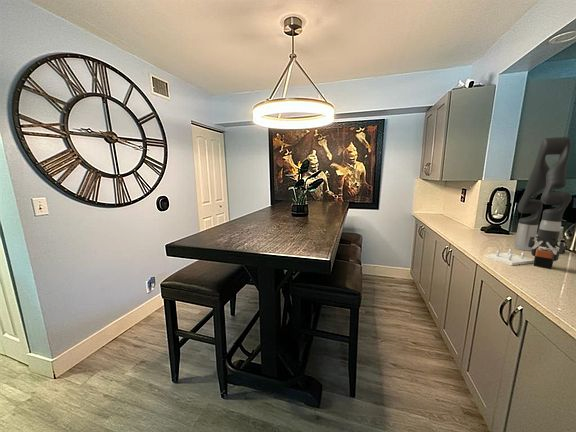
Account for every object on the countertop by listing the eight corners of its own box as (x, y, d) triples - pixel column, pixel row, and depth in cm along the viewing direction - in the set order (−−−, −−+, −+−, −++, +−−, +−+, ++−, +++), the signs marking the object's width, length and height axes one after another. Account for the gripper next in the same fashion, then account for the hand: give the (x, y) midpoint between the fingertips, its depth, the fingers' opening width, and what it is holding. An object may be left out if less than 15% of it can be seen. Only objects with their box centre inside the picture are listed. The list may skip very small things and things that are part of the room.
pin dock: (507, 254, 150) (508, 246, 149) (534, 262, 137) (536, 254, 136) (485, 257, 146) (486, 249, 145) (511, 265, 132) (513, 256, 131)
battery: (551, 269, 127) (555, 251, 126) (533, 265, 132) (536, 248, 130) (551, 267, 131) (554, 249, 129) (533, 263, 135) (536, 246, 133)
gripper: (572, 231, 122) (566, 262, 125) (537, 226, 135) (532, 253, 138) (562, 232, 120) (556, 263, 123) (528, 226, 133) (523, 254, 136)
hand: (543, 258), depth 130 cm, fingers open, 8 cm apart
